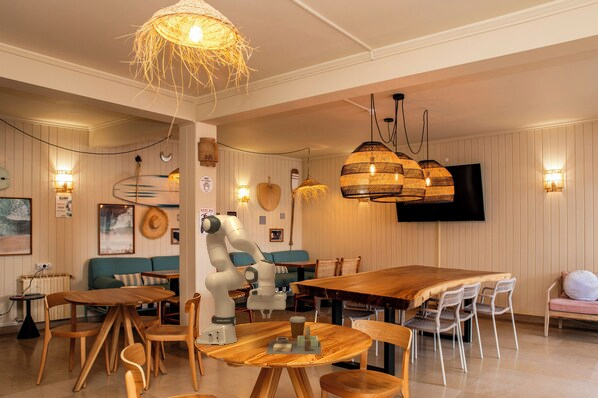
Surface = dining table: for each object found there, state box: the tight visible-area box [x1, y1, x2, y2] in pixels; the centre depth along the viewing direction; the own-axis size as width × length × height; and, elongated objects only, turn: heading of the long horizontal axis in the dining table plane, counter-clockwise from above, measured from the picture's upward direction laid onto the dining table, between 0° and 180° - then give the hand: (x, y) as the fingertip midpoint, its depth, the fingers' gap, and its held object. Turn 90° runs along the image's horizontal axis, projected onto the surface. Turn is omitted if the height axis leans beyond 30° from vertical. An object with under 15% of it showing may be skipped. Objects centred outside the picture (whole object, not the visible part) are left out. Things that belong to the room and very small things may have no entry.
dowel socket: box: [275, 336, 289, 344], centre depth 250 cm, size 6×6×3 cm
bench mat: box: [265, 340, 322, 355], centre depth 244 cm, size 28×26×1 cm
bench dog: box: [305, 340, 311, 351], centre depth 238 cm, size 3×3×5 cm
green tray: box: [296, 335, 319, 347], centre depth 250 cm, size 11×10×4 cm
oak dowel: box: [304, 325, 311, 340], centre depth 250 cm, size 3×3×9 cm
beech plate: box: [273, 344, 292, 352], centre depth 238 cm, size 9×7×2 cm
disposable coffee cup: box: [289, 315, 306, 340], centre depth 267 cm, size 10×10×12 cm
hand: (266, 318), depth 239 cm, fingers closed
